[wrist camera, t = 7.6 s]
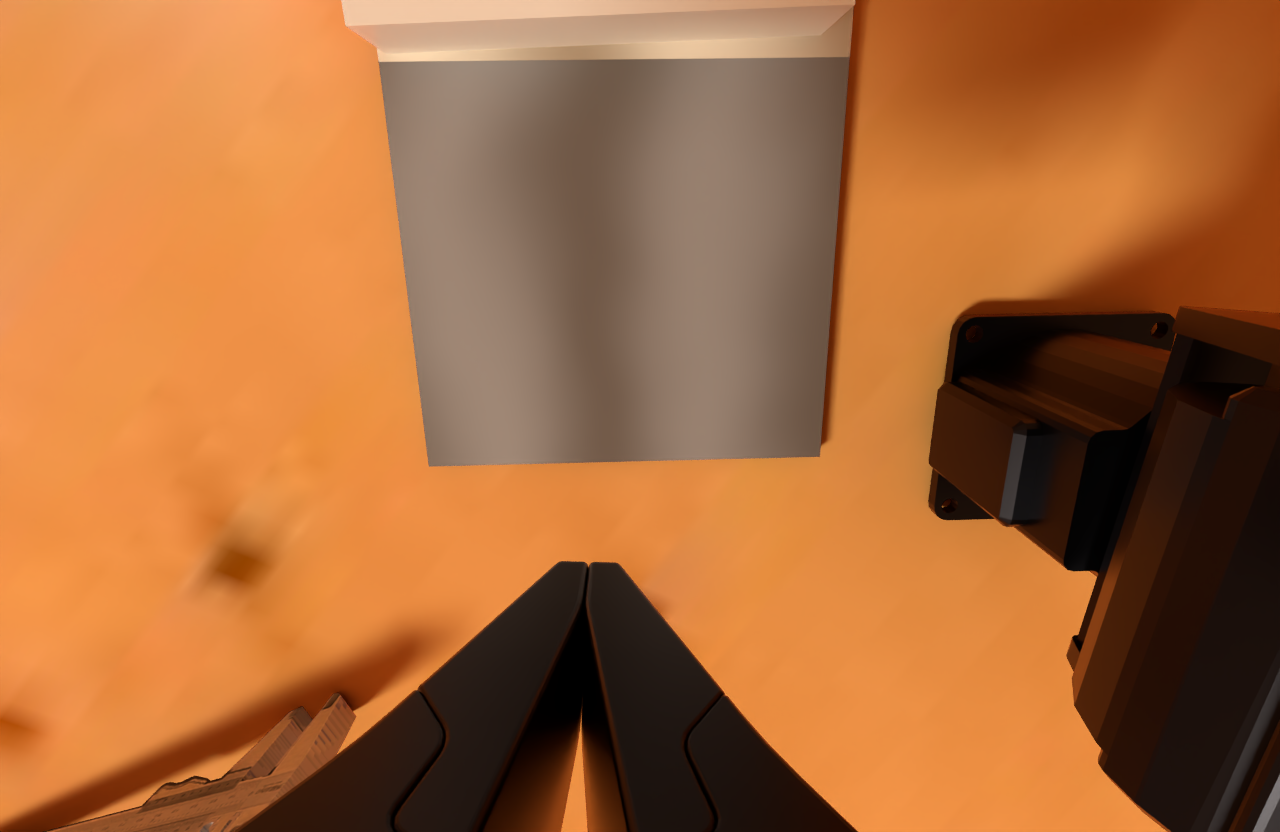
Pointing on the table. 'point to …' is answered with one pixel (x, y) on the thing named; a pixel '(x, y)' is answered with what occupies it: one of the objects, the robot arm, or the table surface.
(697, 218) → the subfloor panel
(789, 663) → the table surface
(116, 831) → the caliper
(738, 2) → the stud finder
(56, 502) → the table surface
